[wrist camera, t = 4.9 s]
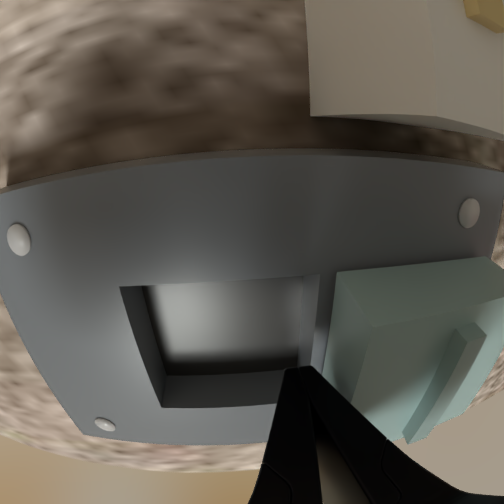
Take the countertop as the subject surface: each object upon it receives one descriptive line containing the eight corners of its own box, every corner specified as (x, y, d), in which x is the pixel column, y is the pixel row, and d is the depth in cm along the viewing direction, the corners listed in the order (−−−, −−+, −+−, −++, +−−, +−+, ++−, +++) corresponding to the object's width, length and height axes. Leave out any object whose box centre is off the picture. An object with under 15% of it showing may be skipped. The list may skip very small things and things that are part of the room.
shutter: (485, 255, 8) (540, 299, 5) (439, 376, 11) (469, 423, 8) (336, 271, 8) (384, 345, 5) (315, 407, 10) (333, 471, 7)
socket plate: (472, 161, 9) (508, 173, 7) (413, 380, 14) (428, 406, 12) (5, 186, 8) (-29, 203, 6) (92, 406, 13) (82, 435, 11)
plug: (412, 23, 7) (549, -12, 1) (418, 126, 8) (573, 161, 3) (304, 1, 7) (399, -113, 1) (310, 116, 8) (452, 117, 2)
